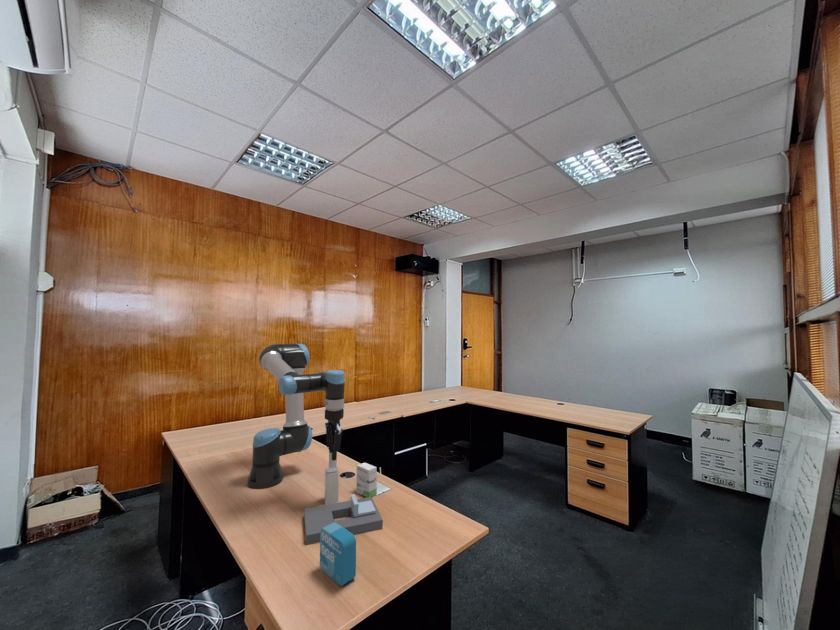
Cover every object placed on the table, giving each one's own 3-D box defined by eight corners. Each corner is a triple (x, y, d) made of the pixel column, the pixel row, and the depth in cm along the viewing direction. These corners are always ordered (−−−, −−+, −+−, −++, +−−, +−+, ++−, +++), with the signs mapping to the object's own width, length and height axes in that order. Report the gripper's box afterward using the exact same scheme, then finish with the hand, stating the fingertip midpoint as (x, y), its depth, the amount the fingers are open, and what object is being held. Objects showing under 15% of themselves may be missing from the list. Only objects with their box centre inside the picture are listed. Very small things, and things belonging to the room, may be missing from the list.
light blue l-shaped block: (350, 506, 128) (350, 494, 128) (371, 502, 131) (371, 491, 131) (354, 516, 120) (354, 504, 120) (375, 512, 123) (375, 500, 123)
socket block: (304, 516, 126) (304, 508, 126) (371, 504, 135) (371, 496, 136) (306, 544, 109) (306, 535, 110) (382, 528, 119) (382, 519, 119)
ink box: (377, 494, 144) (377, 466, 145) (368, 498, 140) (368, 470, 141) (364, 488, 149) (364, 461, 150) (355, 492, 146) (356, 464, 146)
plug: (324, 498, 140) (325, 468, 141) (336, 496, 142) (337, 466, 142) (325, 504, 135) (326, 472, 136) (338, 502, 137) (338, 471, 138)
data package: (319, 568, 99) (320, 526, 99) (332, 560, 102) (333, 520, 103) (342, 588, 91) (343, 543, 91) (356, 579, 94) (356, 536, 95)
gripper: (319, 406, 138) (317, 463, 138) (331, 413, 128) (329, 475, 127) (336, 404, 143) (335, 459, 142) (349, 410, 132) (347, 470, 132)
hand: (332, 467), depth 135 cm, fingers closed
